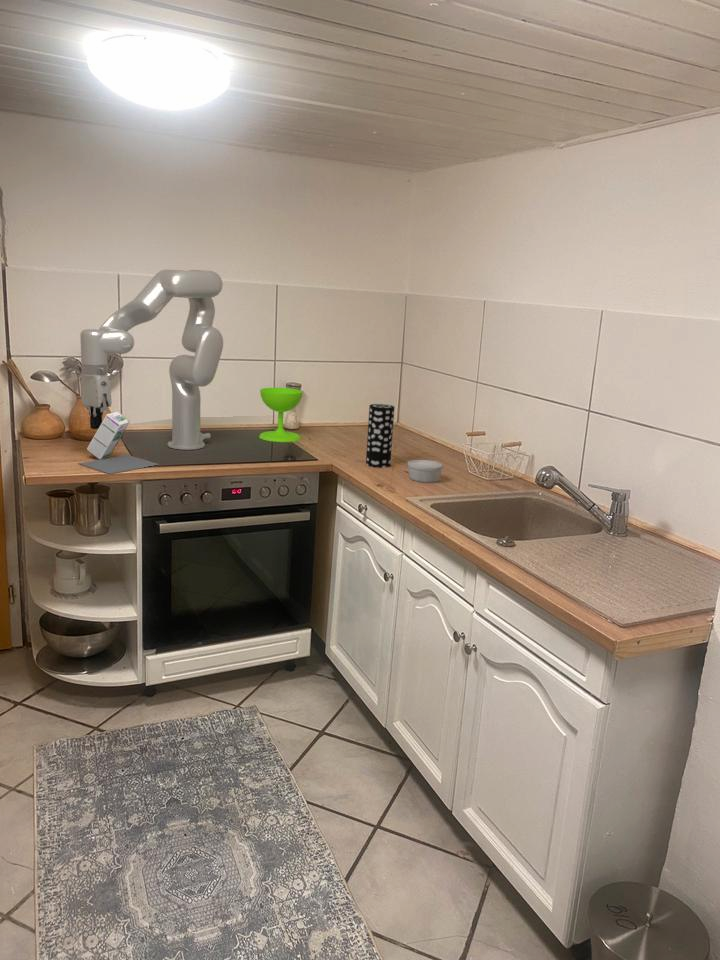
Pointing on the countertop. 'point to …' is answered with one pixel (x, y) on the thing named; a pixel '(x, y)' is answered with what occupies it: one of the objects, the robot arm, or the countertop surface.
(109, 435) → the syrup box
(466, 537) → the countertop surface
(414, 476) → the ramekin
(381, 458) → the spotted tube
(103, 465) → the mat
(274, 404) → the wineglass
